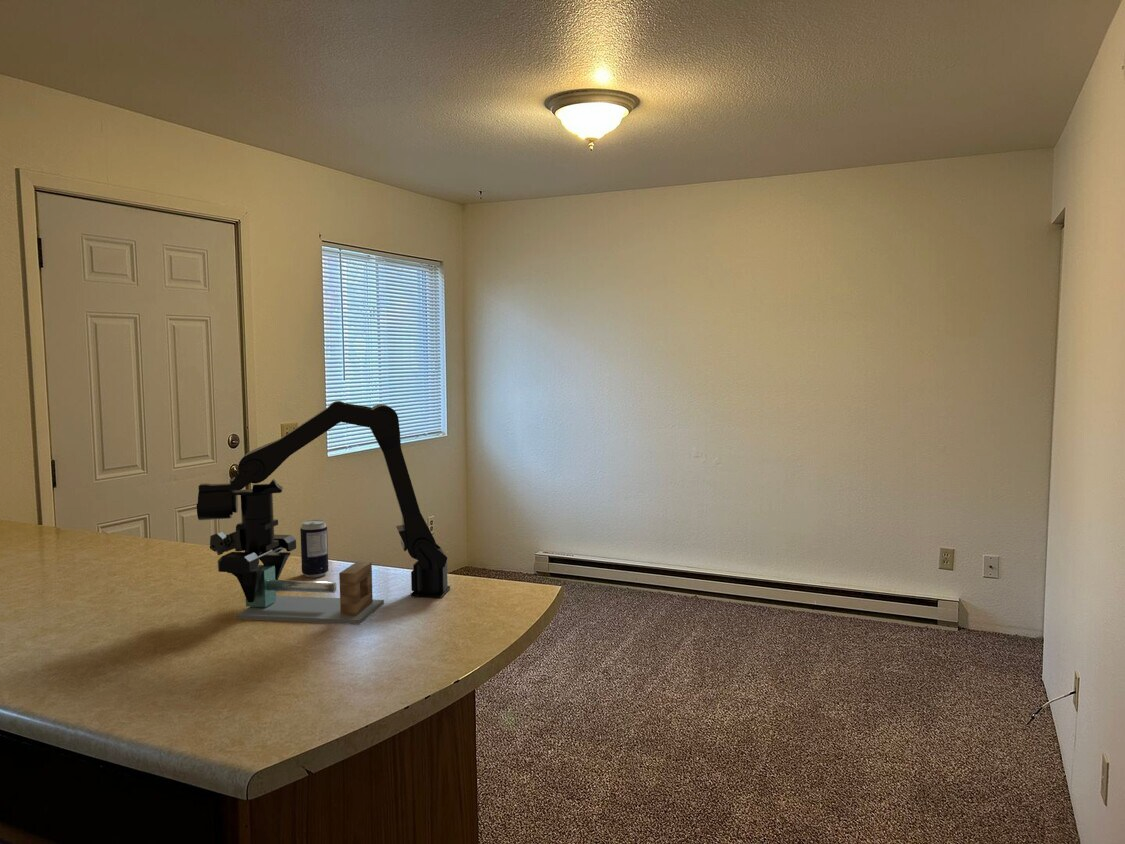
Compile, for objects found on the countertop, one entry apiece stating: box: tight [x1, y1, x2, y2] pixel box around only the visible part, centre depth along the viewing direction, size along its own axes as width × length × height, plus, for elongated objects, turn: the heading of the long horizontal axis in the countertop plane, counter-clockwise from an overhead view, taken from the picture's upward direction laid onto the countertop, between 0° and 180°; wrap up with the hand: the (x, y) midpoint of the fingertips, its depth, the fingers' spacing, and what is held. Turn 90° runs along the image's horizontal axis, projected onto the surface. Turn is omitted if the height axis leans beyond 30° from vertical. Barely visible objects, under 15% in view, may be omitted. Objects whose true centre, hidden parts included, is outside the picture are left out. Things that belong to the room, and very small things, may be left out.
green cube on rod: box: [245, 564, 337, 608], centre depth 150 cm, size 17×4×7 cm, turn 82°
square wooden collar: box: [338, 561, 374, 616], centre depth 148 cm, size 3×8×8 cm, turn 172°
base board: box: [236, 595, 385, 625], centre depth 150 cm, size 24×12×1 cm, turn 82°
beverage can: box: [299, 519, 329, 579], centre depth 174 cm, size 6×6×12 cm
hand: (260, 596), depth 151 cm, fingers open, 7 cm apart
